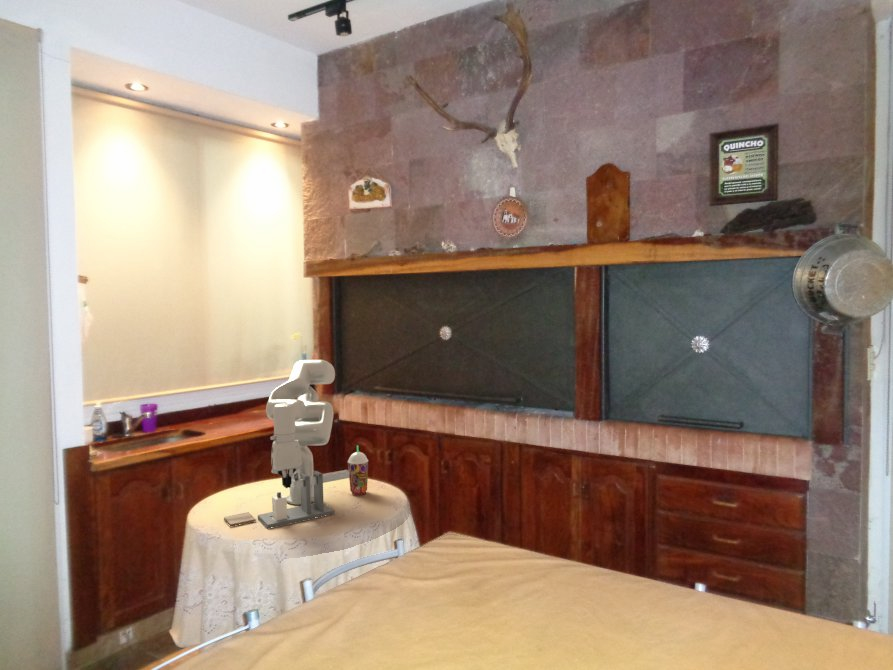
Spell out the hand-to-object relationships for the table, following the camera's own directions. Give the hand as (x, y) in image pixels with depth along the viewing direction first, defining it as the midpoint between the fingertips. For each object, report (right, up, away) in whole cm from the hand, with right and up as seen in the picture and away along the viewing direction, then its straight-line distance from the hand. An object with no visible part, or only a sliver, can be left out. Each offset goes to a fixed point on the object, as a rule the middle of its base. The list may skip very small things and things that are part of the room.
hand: (287, 486), depth 236 cm
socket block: (+3, -12, +3) cm, 13 cm away
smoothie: (+22, -10, +29) cm, 38 cm away
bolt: (+11, 0, +7) cm, 13 cm away
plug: (-2, -12, -1) cm, 13 cm away
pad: (-17, -12, 0) cm, 21 cm away
